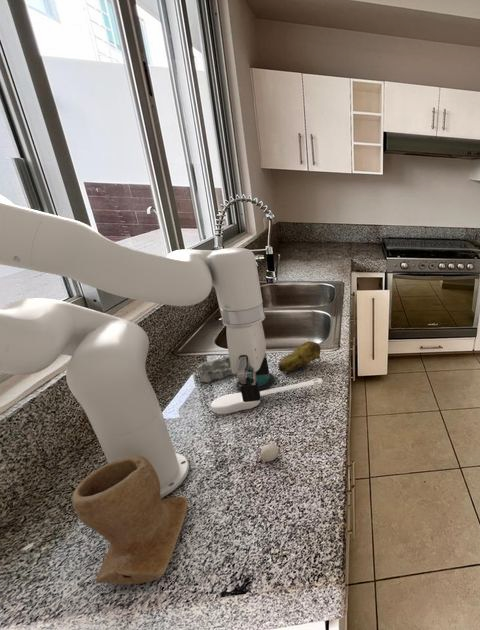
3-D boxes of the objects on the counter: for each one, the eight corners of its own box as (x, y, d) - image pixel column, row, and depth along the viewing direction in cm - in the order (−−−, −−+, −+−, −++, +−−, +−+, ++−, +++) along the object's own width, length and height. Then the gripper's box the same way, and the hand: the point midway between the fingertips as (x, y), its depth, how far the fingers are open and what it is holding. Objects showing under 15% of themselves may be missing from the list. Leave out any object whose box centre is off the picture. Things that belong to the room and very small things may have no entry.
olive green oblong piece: (280, 363, 111) (276, 341, 108) (321, 358, 115) (319, 336, 112) (279, 377, 104) (275, 354, 101) (323, 370, 108) (321, 348, 105)
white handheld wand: (321, 383, 102) (321, 374, 100) (325, 393, 97) (324, 385, 96) (214, 405, 91) (211, 396, 90) (211, 418, 86) (209, 409, 85)
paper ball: (278, 464, 73) (275, 451, 72) (260, 466, 73) (257, 453, 71) (280, 451, 77) (278, 439, 75) (263, 453, 76) (261, 441, 75)
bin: (240, 390, 96) (233, 359, 92) (241, 376, 102) (235, 346, 98) (269, 385, 99) (264, 354, 95) (269, 371, 105) (264, 342, 101)
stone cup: (123, 513, 62) (94, 450, 56) (197, 498, 65) (177, 437, 59) (70, 608, 49) (26, 537, 43) (167, 583, 52) (138, 515, 46)
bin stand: (270, 391, 97) (270, 389, 97) (232, 394, 95) (232, 392, 95) (277, 372, 106) (276, 370, 106) (242, 375, 104) (242, 373, 104)
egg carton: (200, 385, 99) (197, 373, 98) (198, 373, 105) (195, 361, 103) (241, 374, 105) (238, 362, 103) (237, 363, 110) (234, 352, 109)
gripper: (233, 298, 74) (247, 367, 80) (206, 333, 58) (226, 414, 65) (271, 297, 75) (281, 364, 82) (254, 330, 60) (268, 410, 66)
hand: (257, 386), depth 73 cm, fingers open, 9 cm apart
